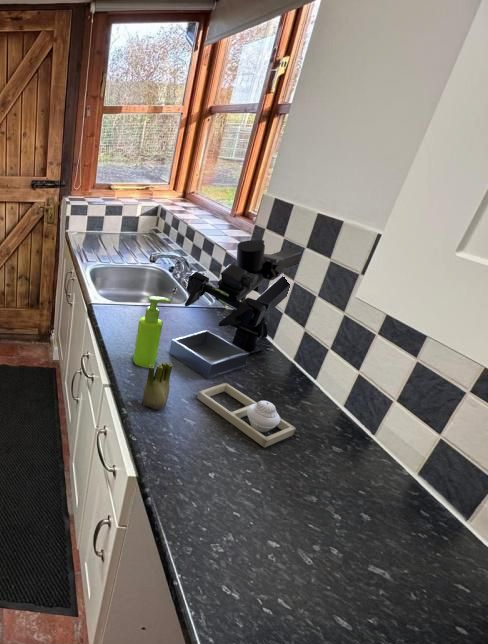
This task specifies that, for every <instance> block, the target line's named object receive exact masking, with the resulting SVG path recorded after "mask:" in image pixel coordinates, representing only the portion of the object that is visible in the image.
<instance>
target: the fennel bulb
mask: <svg viewBox="0 0 488 644" xmlns="http://www.w3.org/2000/svg"><path fill="white" fill-rule="evenodd" d="M173 367H174V364H173V363H171V362H164V361H162V362H161V364H158V365H156V367H155V365H154V366H153V365H150V366H149V368H148V370H147V371H148V372H147V378H146V381H145V385H144V389H143V393H142V394H143V395H142V401H143V404H144V405H145V406H146V407H148V408H151V409H153V410H157V411H158V410H163V409H164V408H166V406H167V402H168V399H169V395H170V379H171V374H172V371H173ZM155 368H156V369H155Z"/></svg>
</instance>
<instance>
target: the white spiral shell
mask: <svg viewBox="0 0 488 644" xmlns="http://www.w3.org/2000/svg"><path fill="white" fill-rule="evenodd" d="M247 414H248V415H247V418H248V421H249V424H250V426H251V427H253V428H254V429H255V430H257V431H258V432H260V433H267V432H269V431H271V430H273V429H274V428H276V427H277V426H276V425H278V424H279V422H280V418H281V416H280V415H279V413H278V411H277V407H276V406H275V405H274V403H272V402H271V401H268V400H258V401H257V404H253V405H251V406H249V407H248V409H247Z"/></svg>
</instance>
